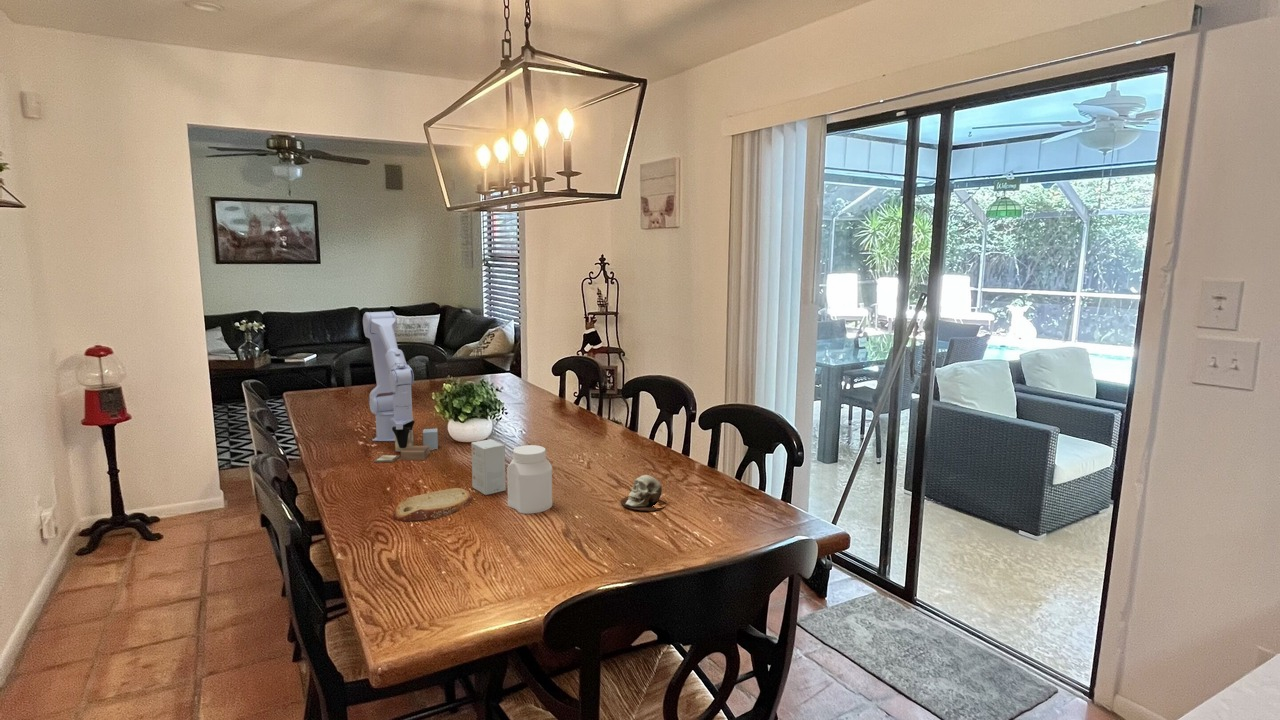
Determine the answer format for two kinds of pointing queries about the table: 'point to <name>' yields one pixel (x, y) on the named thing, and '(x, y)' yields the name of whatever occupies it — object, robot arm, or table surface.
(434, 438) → the slate block
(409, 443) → the maple block
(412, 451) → the walnut block
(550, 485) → the jar
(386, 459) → the swatch tile
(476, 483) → the small box
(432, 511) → the slice of bread
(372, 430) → the table surface
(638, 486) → the skull
